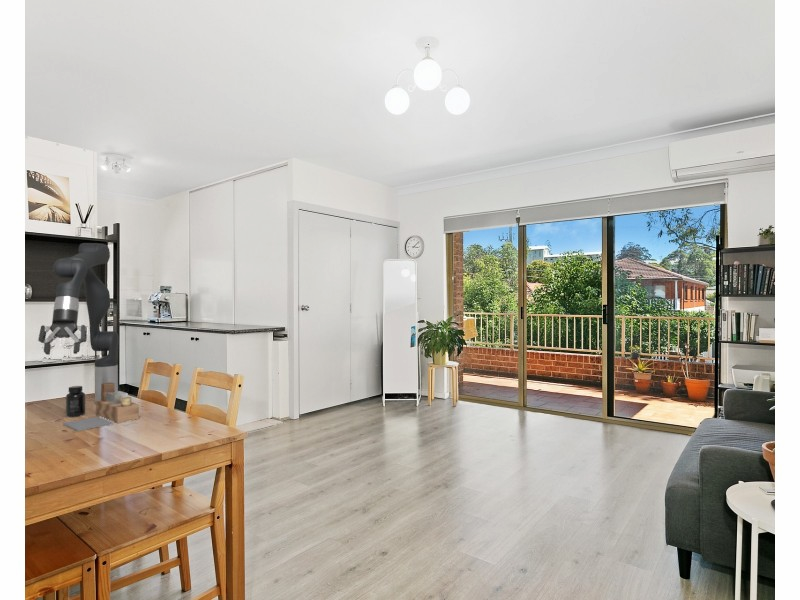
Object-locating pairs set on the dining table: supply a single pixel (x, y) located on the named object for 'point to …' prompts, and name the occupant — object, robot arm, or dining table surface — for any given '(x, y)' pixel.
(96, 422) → the mat
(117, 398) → the white rectangular block
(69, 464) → the dining table surface
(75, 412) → the supplement bottle
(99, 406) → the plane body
